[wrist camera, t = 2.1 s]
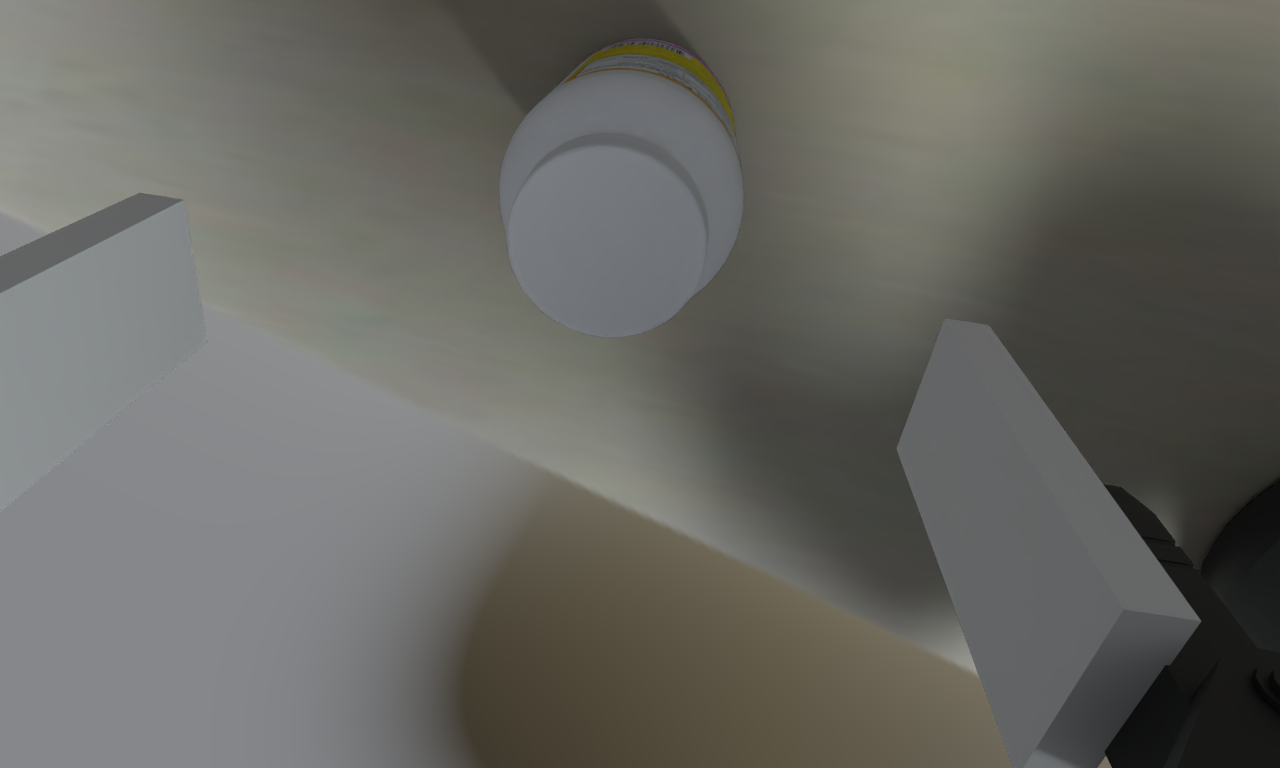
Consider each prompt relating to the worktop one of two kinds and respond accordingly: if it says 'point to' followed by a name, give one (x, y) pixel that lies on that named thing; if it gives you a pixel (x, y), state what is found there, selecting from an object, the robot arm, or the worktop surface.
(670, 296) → the supplement bottle
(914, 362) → the worktop surface
